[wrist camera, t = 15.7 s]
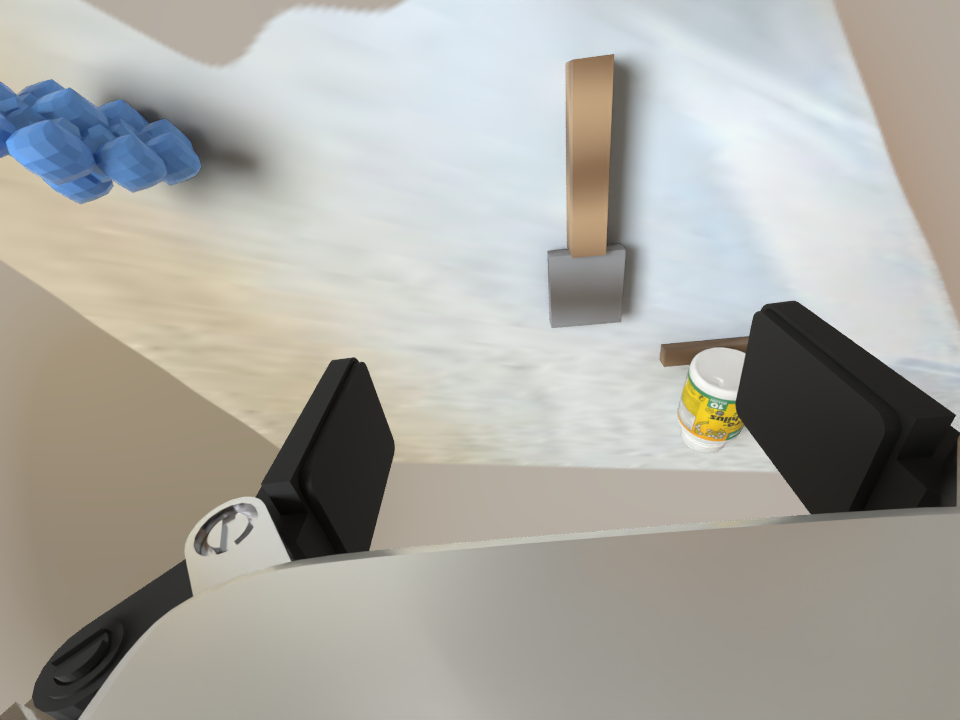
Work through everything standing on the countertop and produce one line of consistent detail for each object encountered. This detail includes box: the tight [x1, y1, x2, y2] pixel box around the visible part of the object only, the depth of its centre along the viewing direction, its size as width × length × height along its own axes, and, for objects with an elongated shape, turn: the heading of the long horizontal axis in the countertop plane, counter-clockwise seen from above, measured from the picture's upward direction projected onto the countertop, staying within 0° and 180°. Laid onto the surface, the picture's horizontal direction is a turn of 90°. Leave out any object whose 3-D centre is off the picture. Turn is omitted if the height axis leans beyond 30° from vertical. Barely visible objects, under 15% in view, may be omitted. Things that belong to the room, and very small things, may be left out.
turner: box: [548, 54, 626, 328], centre depth 31 cm, size 18×6×3 cm, turn 7°
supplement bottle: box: [677, 347, 746, 453], centre depth 38 cm, size 5×5×10 cm
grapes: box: [0, 79, 201, 204], centre depth 26 cm, size 12×7×12 cm, turn 68°
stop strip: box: [660, 337, 749, 367], centre depth 38 cm, size 2×10×1 cm, turn 97°
